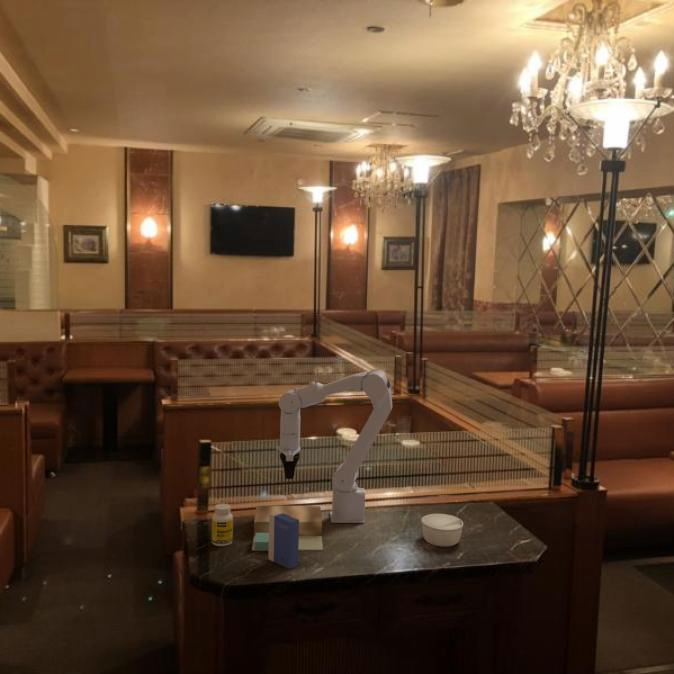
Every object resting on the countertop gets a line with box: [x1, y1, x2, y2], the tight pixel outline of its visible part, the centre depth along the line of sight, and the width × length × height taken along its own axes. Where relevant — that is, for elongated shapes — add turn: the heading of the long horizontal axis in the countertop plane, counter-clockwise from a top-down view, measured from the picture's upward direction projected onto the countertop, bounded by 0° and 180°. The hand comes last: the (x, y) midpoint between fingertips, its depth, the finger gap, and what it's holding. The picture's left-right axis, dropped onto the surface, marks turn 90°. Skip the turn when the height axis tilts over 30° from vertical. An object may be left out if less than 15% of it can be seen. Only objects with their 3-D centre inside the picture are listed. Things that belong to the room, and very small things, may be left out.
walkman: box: [267, 511, 299, 570], centre depth 167 cm, size 8×3×12 cm, turn 47°
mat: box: [251, 535, 324, 552], centre depth 179 cm, size 18×8×1 cm, turn 93°
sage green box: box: [255, 533, 269, 550], centre depth 177 cm, size 9×6×2 cm, turn 94°
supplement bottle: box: [211, 503, 234, 547], centre depth 178 cm, size 5×5×10 cm
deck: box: [253, 505, 323, 537], centre depth 189 cm, size 18×12×4 cm, turn 93°
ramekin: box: [420, 513, 464, 548], centre depth 184 cm, size 11×11×5 cm
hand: (289, 478), depth 199 cm, fingers closed
